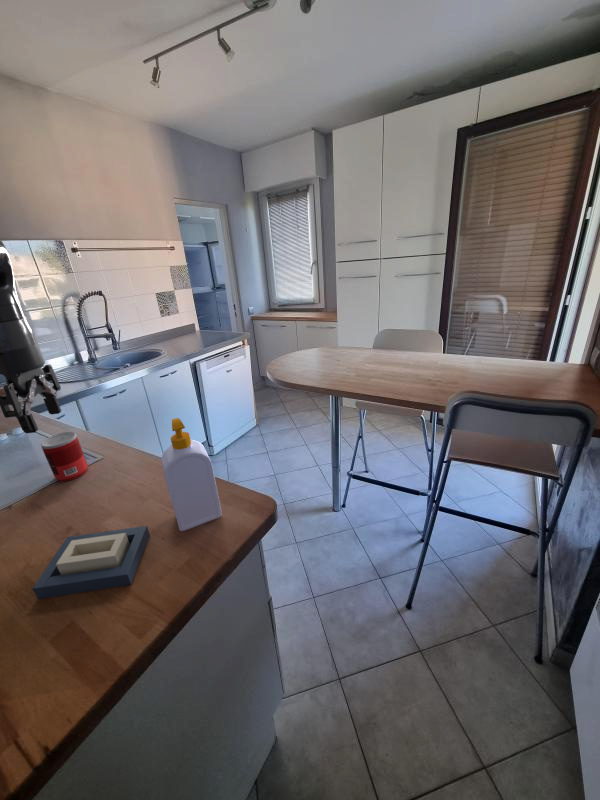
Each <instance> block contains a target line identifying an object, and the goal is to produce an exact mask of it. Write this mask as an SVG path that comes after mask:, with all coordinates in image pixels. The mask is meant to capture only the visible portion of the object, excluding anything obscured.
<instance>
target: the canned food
mask: <svg viewBox="0 0 600 800" xmlns="http://www.w3.org/2000/svg"><path fill="white" fill-rule="evenodd" d="M79 440H80V439H79V438H78V435H77V433H76V432H74V431H64V432H60V433H56V434H53V435H51V436H49V437H47V438H45V439H44V440H43V441H41V443H40V447H41V450H42V452H43V453H44V456H45V459H46V461H47V463H48V466H49V467H50V470H51V472H52V474H53V477H54V479H56V480H57V481H58V482H68V481H72V480H73V481H74V480H75V479H78V478H79V477H82V476H83V475H84V474H86V472H87V471H88V468H89V464H88V461H87V459H86V457H85V453H84V451H83V449H82V446H81V443H80V441H79Z"/></svg>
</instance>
